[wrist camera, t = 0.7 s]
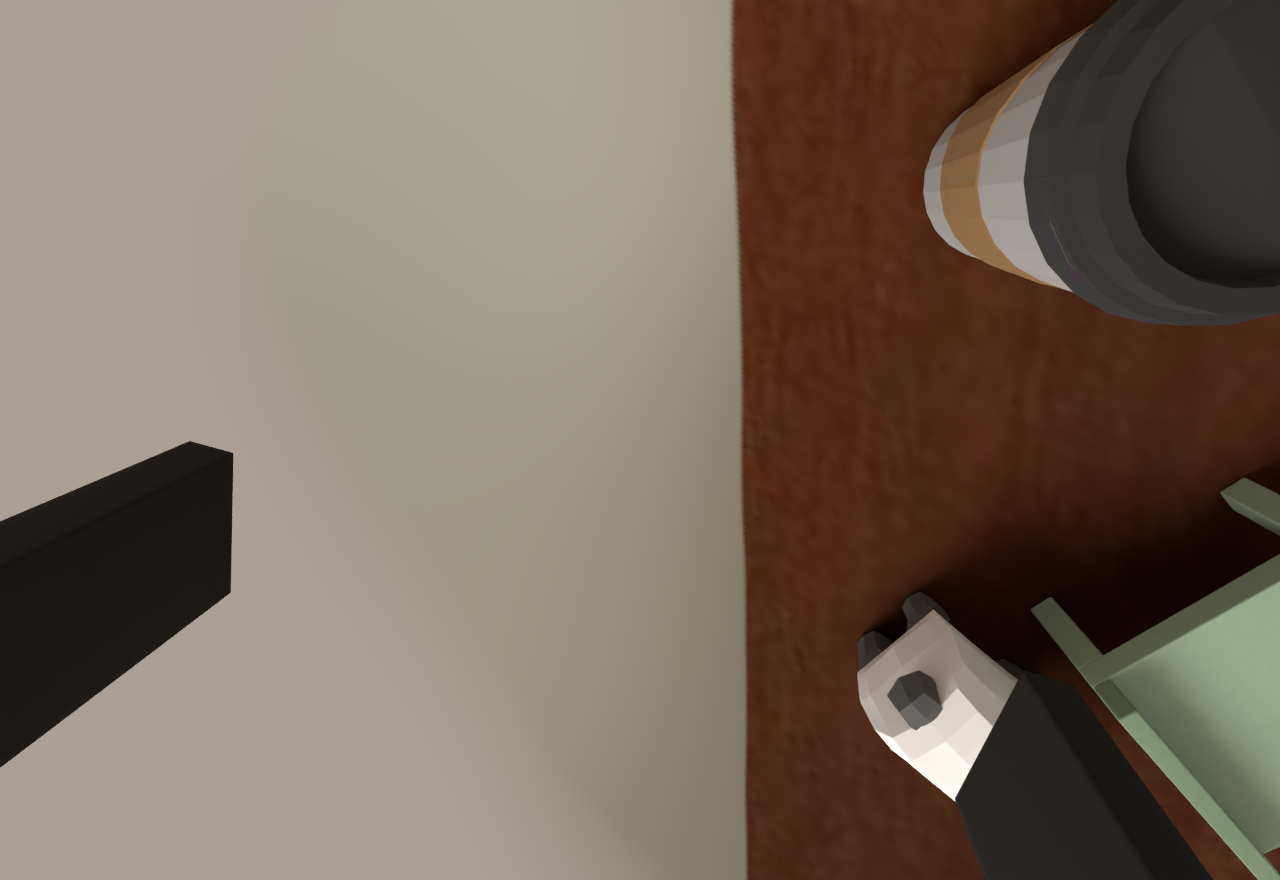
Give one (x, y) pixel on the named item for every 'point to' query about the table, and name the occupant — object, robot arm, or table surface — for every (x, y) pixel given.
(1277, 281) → the coffee cup
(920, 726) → the giant panda
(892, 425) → the table surface
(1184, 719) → the shelf
